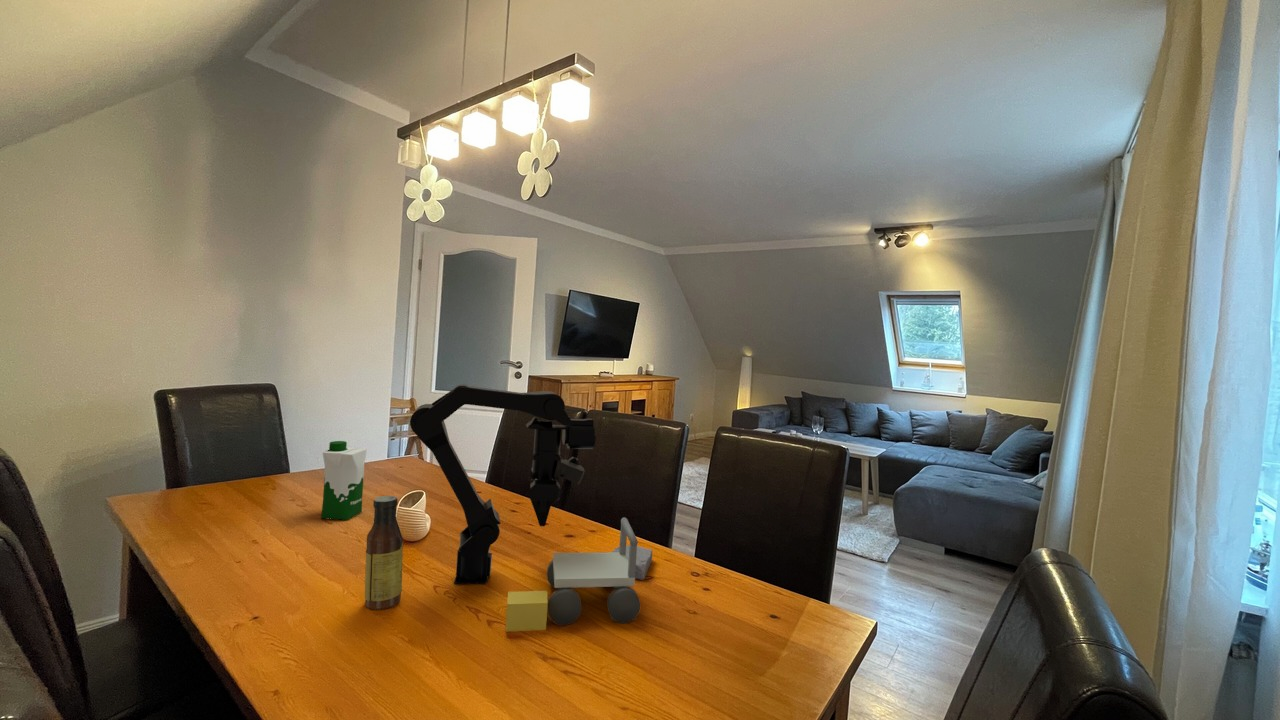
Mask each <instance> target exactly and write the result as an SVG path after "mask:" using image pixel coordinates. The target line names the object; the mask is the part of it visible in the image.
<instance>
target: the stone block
mask: <svg viewBox="0 0 1280 720" xmlns="http://www.w3.org/2000/svg"><path fill="white" fill-rule="evenodd" d="M619 547H620V546H618V547H615V548H614V550H612V551H611V552H619ZM629 547H630V544H629V545H626V557H627V559H628V562H629ZM652 561H653V549H652V548H649V549H648V548H646V547H643V546H639V545H637V554H636V568H635V580H639V581H643V580H645V577H646V575H647V573H648V570H649V568H650V565H651V563H652Z"/></svg>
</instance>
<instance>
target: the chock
mask: <svg viewBox="0 0 1280 720" xmlns="http://www.w3.org/2000/svg"><path fill="white" fill-rule="evenodd" d="M507 593H508V594H507V602H506V616H505V617H506V618H505V631H504V632H527V631H528V632H529V631H530V632H531V631H546V630H547V620H548V619H547V618H548V601H549V599H548V591H547V590H528V591H527V590H525V591H508V592H507Z"/></svg>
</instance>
